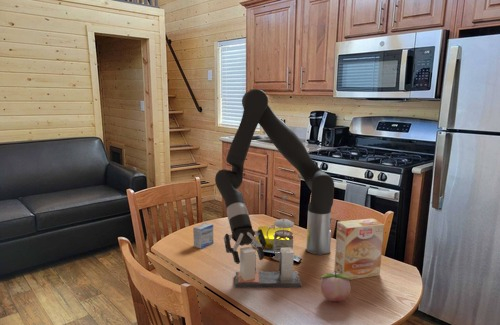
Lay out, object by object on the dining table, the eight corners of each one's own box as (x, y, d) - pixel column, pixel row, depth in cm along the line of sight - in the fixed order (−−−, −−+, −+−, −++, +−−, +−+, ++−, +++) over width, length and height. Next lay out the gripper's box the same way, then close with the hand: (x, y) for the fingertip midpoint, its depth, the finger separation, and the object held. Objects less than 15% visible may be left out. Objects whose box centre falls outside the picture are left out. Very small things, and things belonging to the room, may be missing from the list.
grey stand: (297, 275, 126) (298, 245, 124) (300, 287, 118) (302, 255, 116) (235, 275, 125) (235, 245, 123) (235, 287, 117) (235, 255, 115)
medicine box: (200, 249, 147) (200, 229, 145) (193, 246, 149) (193, 227, 148) (213, 243, 153) (213, 224, 151) (206, 240, 156) (206, 222, 154)
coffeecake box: (343, 281, 122) (346, 228, 119) (333, 271, 129) (336, 220, 125) (380, 275, 126) (385, 224, 123) (369, 266, 133) (372, 217, 129)
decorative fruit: (344, 293, 115) (346, 264, 113) (352, 307, 106) (354, 277, 105) (316, 293, 114) (317, 264, 112) (322, 308, 106) (323, 277, 104)
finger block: (251, 273, 124) (251, 246, 122) (256, 278, 120) (256, 250, 118) (240, 275, 122) (240, 248, 120) (244, 280, 118) (244, 253, 117)
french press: (294, 262, 136) (296, 200, 131) (264, 259, 138) (265, 198, 133) (296, 252, 145) (298, 193, 140) (268, 249, 147) (269, 191, 143)
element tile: (290, 236, 163) (290, 226, 162) (290, 249, 148) (291, 238, 147) (258, 234, 165) (258, 224, 164) (255, 247, 150) (255, 237, 149)
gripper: (222, 215, 122) (232, 260, 113) (259, 211, 127) (272, 253, 118) (217, 225, 127) (227, 268, 119) (254, 220, 133) (266, 261, 124)
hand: (250, 261), depth 119 cm, fingers open, 8 cm apart
